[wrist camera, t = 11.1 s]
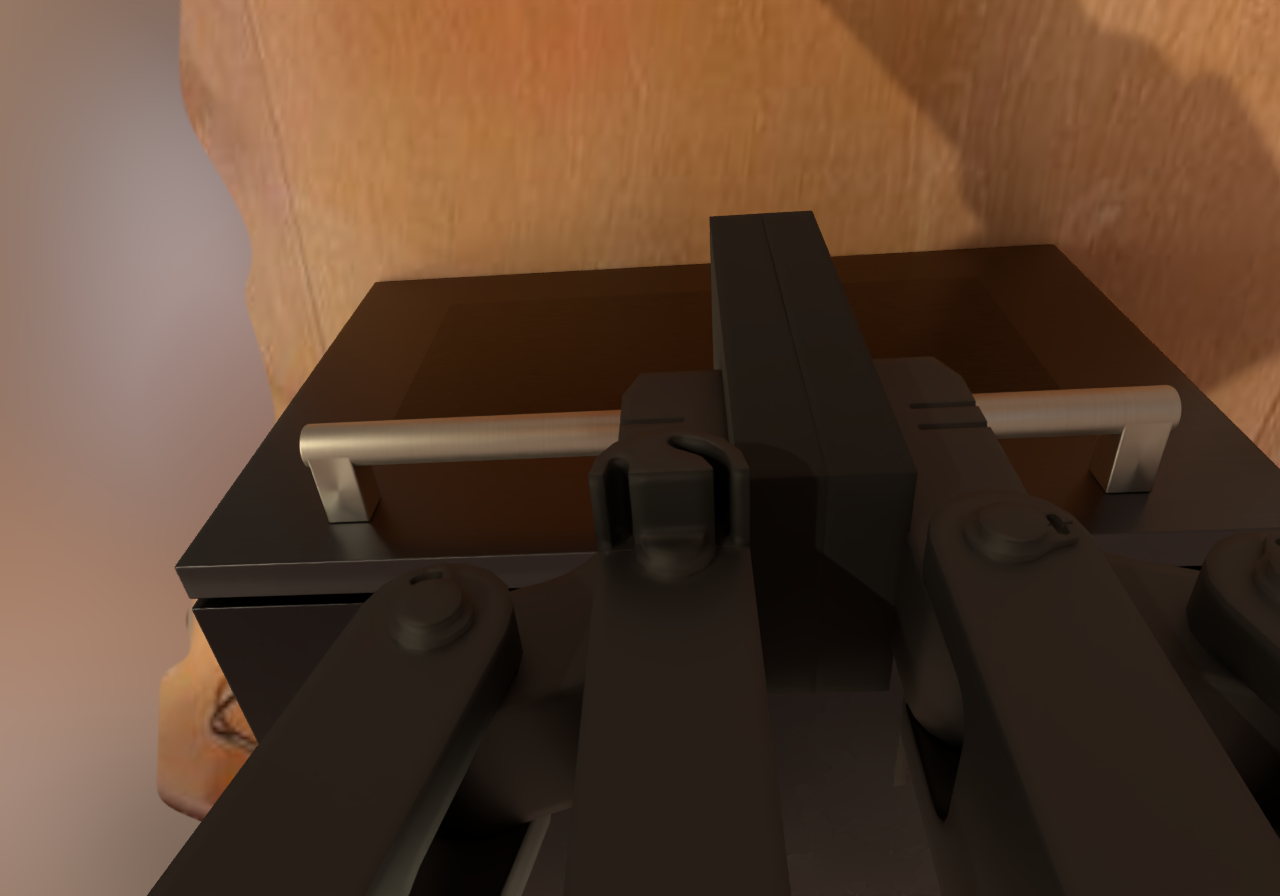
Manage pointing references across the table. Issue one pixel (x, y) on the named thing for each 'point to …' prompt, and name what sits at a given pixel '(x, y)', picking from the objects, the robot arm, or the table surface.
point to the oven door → (683, 341)
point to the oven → (807, 780)
